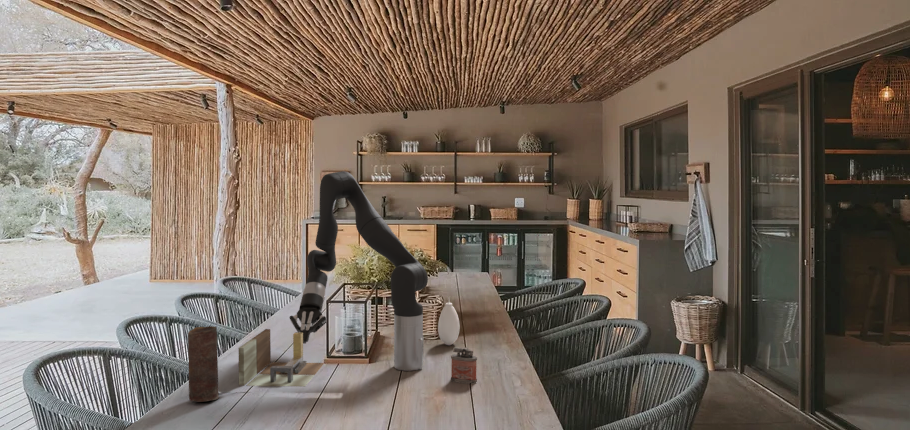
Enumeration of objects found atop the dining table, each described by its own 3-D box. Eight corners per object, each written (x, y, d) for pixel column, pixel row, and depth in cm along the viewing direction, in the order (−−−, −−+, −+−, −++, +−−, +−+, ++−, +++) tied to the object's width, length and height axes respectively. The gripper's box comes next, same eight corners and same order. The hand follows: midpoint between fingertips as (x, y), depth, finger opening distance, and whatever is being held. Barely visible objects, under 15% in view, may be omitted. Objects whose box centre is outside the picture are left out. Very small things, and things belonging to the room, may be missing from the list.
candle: (207, 407, 152) (206, 331, 152) (182, 405, 154) (181, 330, 153) (224, 397, 160) (223, 325, 159) (200, 394, 161) (199, 323, 160)
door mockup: (324, 366, 187) (324, 329, 187) (305, 390, 165) (304, 348, 165) (266, 365, 188) (265, 329, 187) (239, 389, 166) (238, 348, 165)
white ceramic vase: (435, 346, 212) (435, 297, 211) (442, 340, 219) (442, 293, 218) (455, 348, 209) (455, 298, 208) (462, 342, 217) (462, 294, 216)
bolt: (303, 362, 187) (302, 332, 186) (292, 373, 176) (292, 341, 175) (295, 362, 187) (295, 332, 186) (284, 373, 176) (284, 341, 175)
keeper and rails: (307, 364, 185) (307, 351, 185) (290, 382, 168) (290, 368, 168) (288, 364, 185) (288, 351, 185) (270, 382, 169) (270, 368, 168)
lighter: (478, 380, 174) (478, 347, 174) (475, 384, 171) (475, 350, 171) (452, 377, 177) (453, 345, 177) (449, 381, 174) (449, 348, 173)
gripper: (291, 291, 200) (280, 336, 189) (330, 292, 200) (320, 336, 188) (296, 303, 206) (285, 347, 194) (333, 304, 205) (325, 348, 194)
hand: (303, 342), depth 191 cm, fingers closed
